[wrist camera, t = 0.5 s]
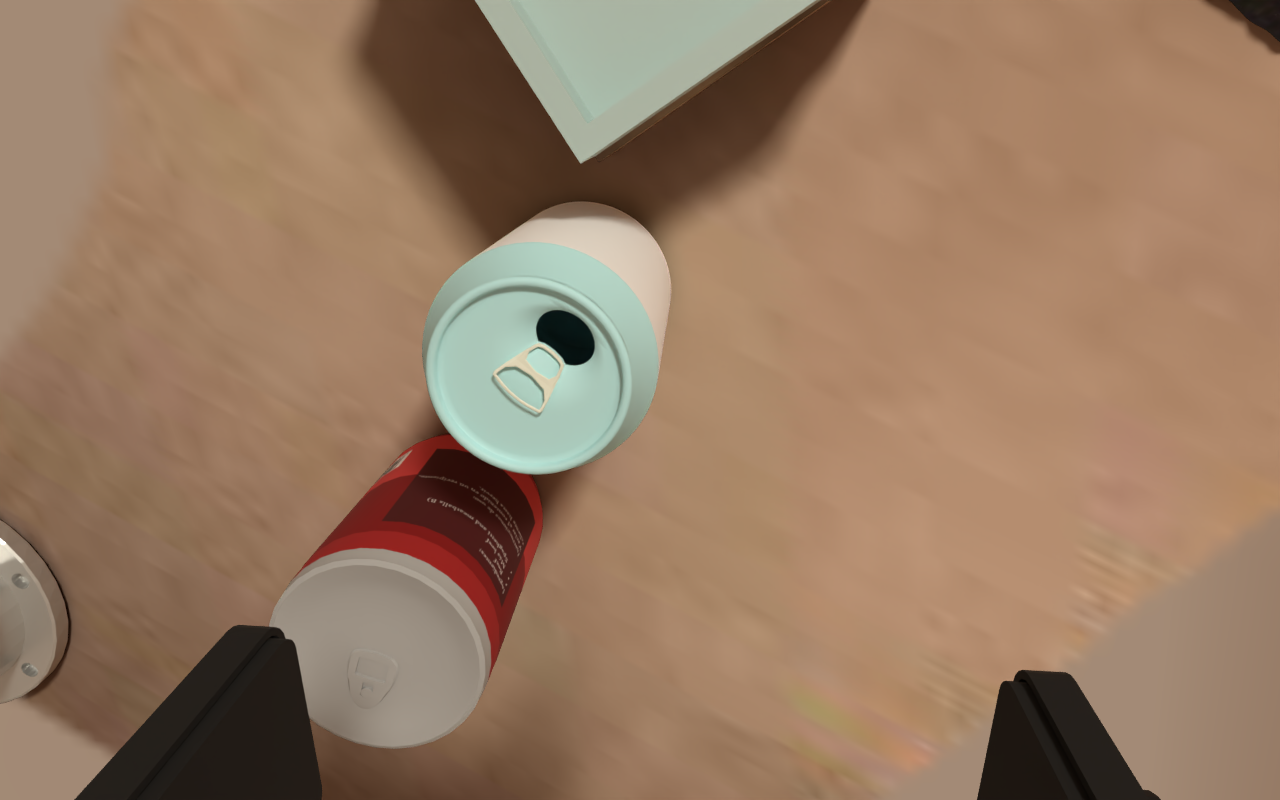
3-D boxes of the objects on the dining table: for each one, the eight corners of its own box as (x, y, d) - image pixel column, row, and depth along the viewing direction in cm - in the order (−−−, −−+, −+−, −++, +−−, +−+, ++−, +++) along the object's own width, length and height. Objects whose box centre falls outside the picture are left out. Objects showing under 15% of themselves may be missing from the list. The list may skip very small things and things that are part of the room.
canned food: (391, 572, 39) (278, 742, 29) (379, 420, 36) (250, 548, 26) (546, 584, 38) (489, 761, 28) (547, 432, 36) (484, 567, 25)
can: (505, 191, 32) (398, 241, 21) (680, 207, 32) (666, 267, 20) (501, 358, 34) (404, 482, 23) (663, 374, 34) (643, 508, 23)
